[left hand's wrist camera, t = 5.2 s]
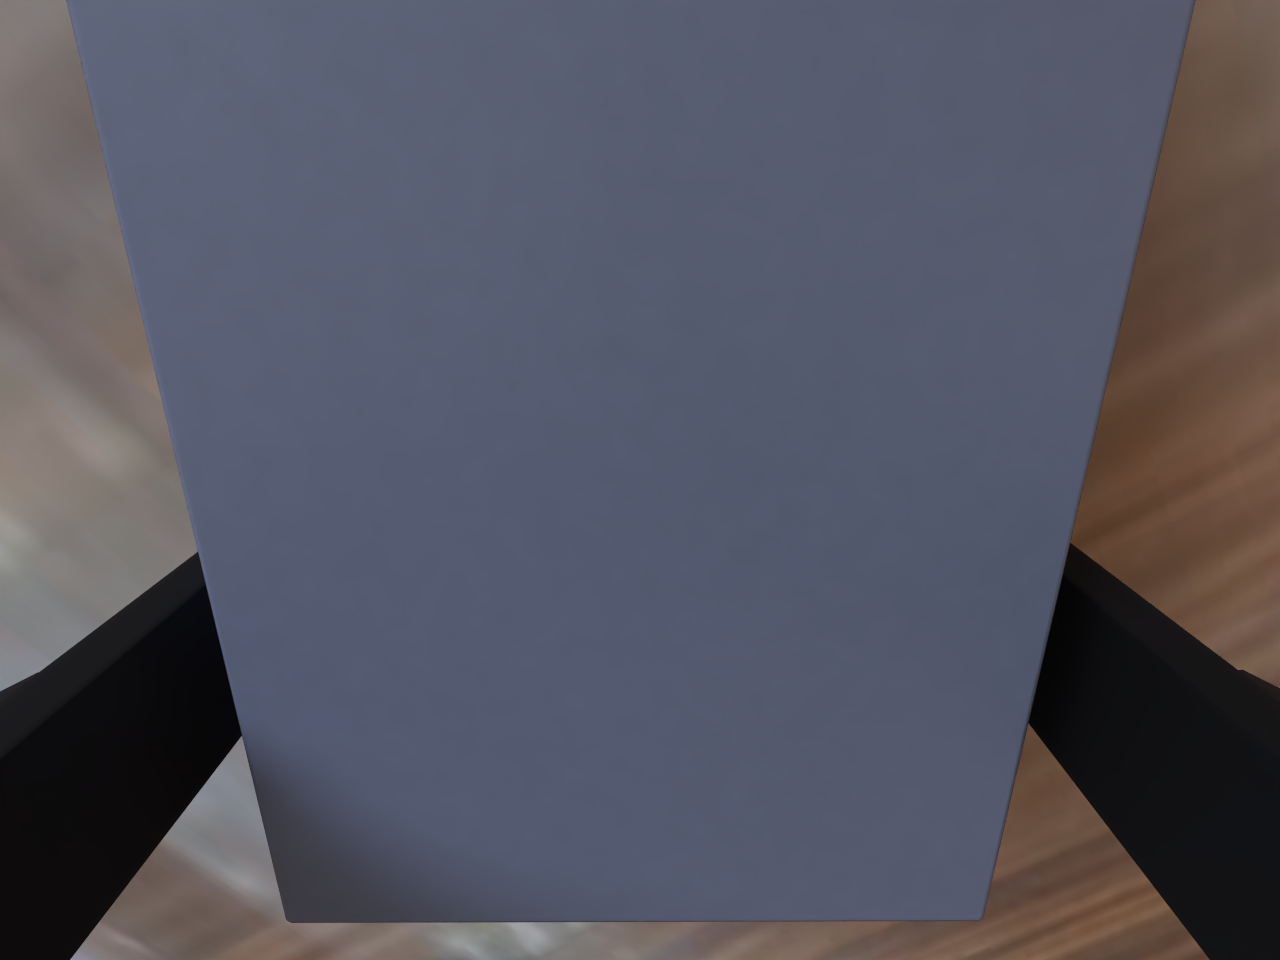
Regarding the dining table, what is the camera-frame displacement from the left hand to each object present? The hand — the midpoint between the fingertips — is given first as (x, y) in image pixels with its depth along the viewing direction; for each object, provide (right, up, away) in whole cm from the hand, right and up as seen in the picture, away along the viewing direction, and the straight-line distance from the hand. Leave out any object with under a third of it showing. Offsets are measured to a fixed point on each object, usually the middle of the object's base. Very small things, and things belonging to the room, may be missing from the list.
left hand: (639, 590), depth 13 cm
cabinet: (0, +9, +3) cm, 9 cm away
